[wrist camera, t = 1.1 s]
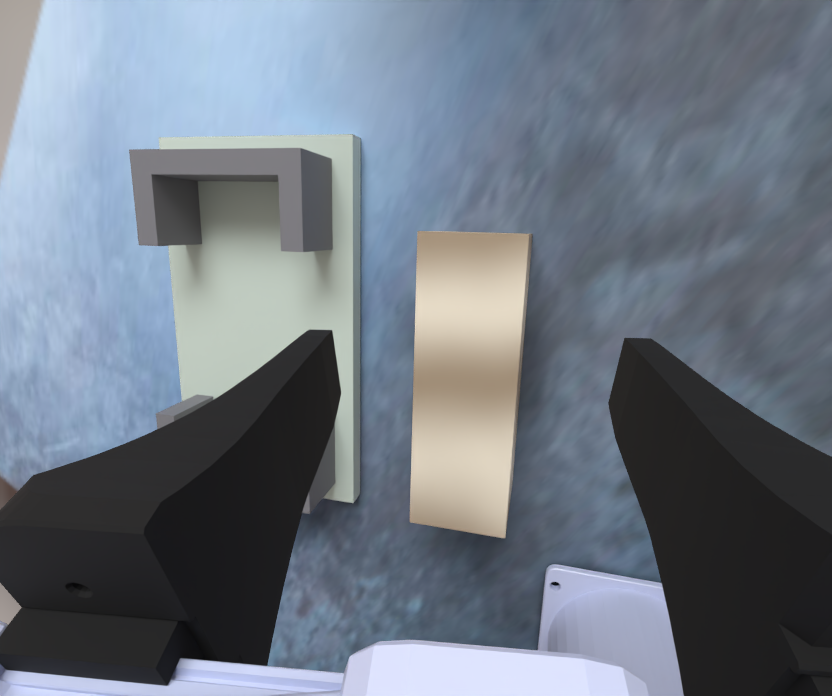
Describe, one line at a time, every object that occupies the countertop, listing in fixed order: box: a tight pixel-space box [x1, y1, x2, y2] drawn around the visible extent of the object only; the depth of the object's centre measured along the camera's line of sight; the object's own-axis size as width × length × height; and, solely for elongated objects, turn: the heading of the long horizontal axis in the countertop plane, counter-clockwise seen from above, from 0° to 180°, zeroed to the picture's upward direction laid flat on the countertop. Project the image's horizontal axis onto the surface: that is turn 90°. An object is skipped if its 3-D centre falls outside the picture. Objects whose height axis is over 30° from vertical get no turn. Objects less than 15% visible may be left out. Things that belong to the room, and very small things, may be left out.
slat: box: [410, 231, 532, 538], centre depth 21 cm, size 12×4×5 cm, turn 179°
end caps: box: [129, 134, 361, 514], centre depth 24 cm, size 18×10×4 cm, turn 179°
